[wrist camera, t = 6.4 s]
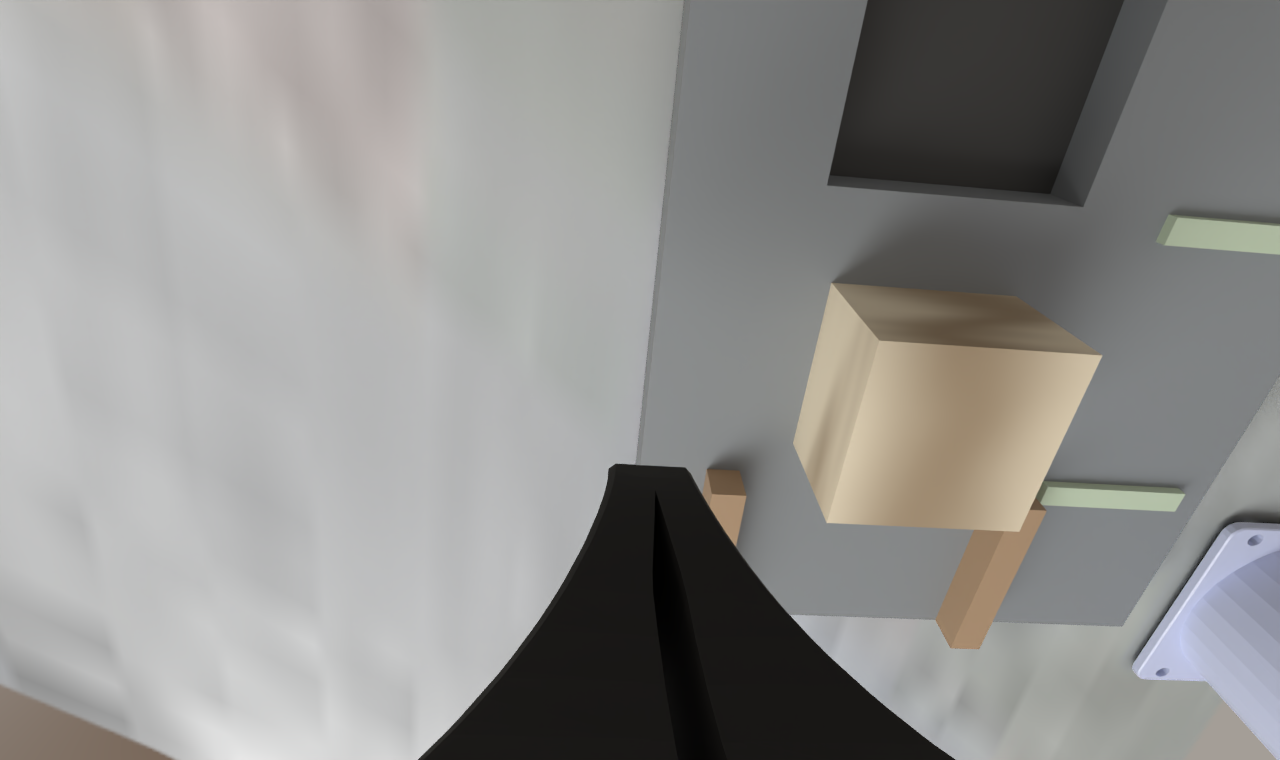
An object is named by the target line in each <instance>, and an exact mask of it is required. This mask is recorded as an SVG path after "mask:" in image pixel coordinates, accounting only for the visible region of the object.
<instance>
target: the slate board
mask: <svg viewBox="0 0 1280 760" xmlns="http://www.w3.org/2000/svg"><path fill="white" fill-rule="evenodd" d="M831 283H842V284H856V285H869V286H883V287H897V288H911V289H924V290H938V291H952V292H966V293H979V294H993V295H1007V296H1017V297H1018V298H1019V299H1021V300H1022V301H1024V302H1025V303H1027V304H1028V305H1030V306H1031V307H1033V308H1034V309H1035V310H1037V311H1038V312H1040V313H1041V314H1043V315H1044V316H1046V317H1047V318H1049V319H1050V320H1052V321H1053V322H1054V323H1056V324H1057V325H1059V326H1060V327H1062V328H1063V329H1065V330H1066V331H1068V332H1069V333H1070V334H1072V335H1073V336H1075V337H1076V338H1078V339H1079V340H1081V341H1082V342H1084V343H1085V344H1087V345H1088V346H1089V347H1091V348H1092V349H1094V350H1095V351H1097V352H1098V353H1100V354H1101V355H1103V356H1102V358H1101V360H1100V362H1099V364H1098V366H1097V368H1096V370H1095V373H1094V375H1093V377H1092V379H1091V381H1090V383H1089V385H1088V387H1087V389H1086V392H1085V394H1084V396H1083V398H1082V400H1081V402H1080V404H1079V406H1078V408H1077V411H1076V413H1075V415H1074V417H1073V419H1072V421H1071V423H1070V425H1069V427H1068V430H1067V432H1066V434H1065V436H1064V438H1063V440H1062V442H1061V444H1060V446H1059V449H1058V451H1057V453H1056V455H1055V457H1054V459H1053V461H1052V463H1051V466H1050V468H1049V470H1048V472H1047V474H1046V476H1045V478H1044V480H1043V482H1042V485H1041V487H1040V489H1039V491H1038V493H1037V495H1036V497H1035V499H1034V501H1033V504H1032V506H1031V508H1030V510H1029V512H1028V514H1027V516H1026V518H1025V520H1024V523H1023V525H1022V527H1021V529H1020V531H1019V532H1013V531H991V530H970V529H948V528H926V527H904V526H882V525H861V524H839V523H826V520H825V518H824V515H823V513H822V511H821V508H820V506H819V504H818V501H817V499H816V497H815V494H814V492H813V489H812V487H811V485H810V482H809V480H808V478H807V475H806V473H805V471H804V468H803V466H802V463H801V461H800V459H799V456H798V454H797V452H796V449H795V447H794V444H793V441H794V437H795V433H796V429H797V424H798V420H799V416H800V412H801V408H802V403H803V399H804V395H805V391H806V387H807V382H808V378H809V374H810V370H811V366H812V362H813V357H814V353H815V349H816V345H817V341H818V336H819V332H820V328H821V324H822V320H823V316H824V311H825V307H826V303H827V299H828V295H829V290H830V286H831ZM1279 376H1280V0H684V7H683V17H682V26H681V36H680V46H679V55H678V65H677V74H676V84H675V93H674V103H673V113H672V122H671V132H670V141H669V151H668V161H667V170H666V180H665V189H664V199H663V208H662V218H661V228H660V237H659V247H658V256H657V266H656V276H655V285H654V295H653V304H652V314H651V323H650V333H649V343H648V352H647V362H646V371H645V381H644V390H643V400H642V410H641V419H640V429H639V438H638V448H637V458H636V465H649V466H669V467H686V469H687V470H688V471H689V472H690V473H691V475H692V477H693V479H694V481H695V482H696V484H697V486H698V488H699V490H700V492H701V493H702V495H703V497H704V498H705V500H706V502H707V504H708V505H709V507H710V508H711V510H712V512H713V513H714V515H715V517H716V518H717V520H718V521H719V523H720V524H721V526H722V527H723V529H724V530H725V532H726V533H727V535H728V536H729V538H730V539H731V541H732V542H733V543H734V545H735V546H736V548H737V549H738V551H739V552H740V554H741V555H742V556H743V558H744V559H745V561H746V562H747V563H748V565H749V566H750V567H751V569H752V570H753V571H754V573H755V574H756V575H757V576H758V578H759V579H760V580H761V581H762V583H763V584H764V585H765V587H766V588H767V589H768V590H769V592H770V593H771V594H772V595H773V596H774V598H775V599H776V600H777V601H778V602H779V604H780V605H781V606H782V607H783V608H784V609H785V610H786V612H787V613H788V614H790V615H818V616H845V617H873V618H901V619H929V620H936V622H937V624H938V626H939V627H940V629H941V631H942V633H943V635H944V637H945V639H946V641H947V642H948V644H949V646H950V648H960V649H979V648H980V646H981V644H982V642H983V640H984V638H985V636H986V634H987V632H988V630H989V628H990V626H991V624H992V622H1012V623H1040V624H1068V625H1096V626H1123V624H1124V623H1125V621H1126V620H1127V618H1128V616H1129V615H1130V613H1131V612H1132V610H1133V608H1134V607H1135V605H1136V604H1137V602H1138V600H1139V599H1140V597H1141V596H1142V594H1143V592H1144V591H1145V589H1146V588H1147V586H1148V585H1149V583H1150V581H1151V580H1152V578H1153V577H1154V575H1155V573H1156V572H1157V570H1158V569H1159V567H1160V565H1161V564H1162V562H1163V561H1164V559H1165V557H1166V556H1167V554H1168V553H1169V551H1170V549H1171V548H1172V546H1173V545H1174V543H1175V542H1176V540H1177V538H1178V537H1179V535H1180V534H1181V532H1182V530H1183V529H1184V527H1185V526H1186V524H1187V522H1188V521H1189V519H1190V518H1191V516H1192V514H1193V513H1194V511H1195V510H1196V508H1197V506H1198V505H1199V503H1200V502H1201V500H1202V499H1203V497H1204V495H1205V494H1206V492H1207V491H1208V489H1209V487H1210V486H1211V484H1212V483H1213V481H1214V479H1215V478H1216V476H1217V475H1218V473H1219V471H1220V470H1221V468H1222V467H1223V465H1224V463H1225V462H1226V460H1227V459H1228V457H1229V455H1230V454H1231V452H1232V451H1233V449H1234V448H1235V446H1236V444H1237V443H1238V441H1239V440H1240V438H1241V436H1242V435H1243V433H1244V432H1245V430H1246V428H1247V427H1248V425H1249V424H1250V422H1251V420H1252V419H1253V417H1254V416H1255V414H1256V412H1257V411H1258V409H1259V408H1260V406H1261V405H1262V403H1263V401H1264V400H1265V398H1266V397H1267V395H1268V393H1269V392H1270V390H1271V389H1272V387H1273V385H1274V384H1275V382H1276V381H1277V379H1278V377H1279Z"/></svg>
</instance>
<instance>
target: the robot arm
mask: <svg viewBox="0 0 1280 760" xmlns="http://www.w3.org/2000/svg"><path fill="white" fill-rule="evenodd" d="M1132 669H1133V671H1134V672H1135V673H1136V675H1137V676H1138V677H1139V678H1142V679H1152V680H1186V681H1207V682H1208V683H1209V684H1210V685H1211V687H1212V688H1213V689H1214V690H1215V691H1216V692H1217V693H1218V694H1219V695H1220V697H1221V698H1222V699H1223V700H1224V701H1225V702H1226V703H1227V704H1228V706H1229V707H1230V708H1231V709H1232V710H1233V711H1234V712H1235V713H1236V714H1237V715H1238V717H1240V719H1241V720H1242V721H1243V722H1244V723H1245V724H1246V726H1247V727H1248V728H1249V729H1250V730H1251V731H1252V732H1253V733H1254V735H1256V737H1257V738H1258V739H1259V740H1260V741H1261V742H1262V743H1263V745H1264V746H1265V747H1266V748H1267V749H1268V750H1269V751H1270V752H1271V753H1272V755H1273V756H1274V757H1275V758H1276V759H1277V760H1280V524H1272V523H1251V522H1236V523H1232V524H1230V525H1228V526H1226V527H1225V528H1224V529H1223V530H1222V531H1221V532H1220V534H1219V535H1218V537H1217V538H1216V540H1215V541H1214V543H1213V544H1212V546H1211V547H1210V549H1209V550H1208V552H1207V553H1206V555H1205V556H1204V558H1203V559H1202V561H1201V562H1200V564H1199V565H1198V567H1197V568H1196V570H1195V571H1194V573H1193V574H1192V576H1191V577H1190V579H1189V580H1188V582H1187V583H1186V585H1185V586H1184V588H1183V589H1182V591H1181V592H1180V594H1179V595H1178V597H1177V598H1176V600H1175V601H1174V603H1173V604H1172V606H1171V607H1170V609H1169V611H1168V612H1167V614H1166V615H1165V617H1164V618H1163V620H1162V621H1161V623H1160V624H1159V626H1158V627H1157V629H1156V630H1155V632H1154V633H1153V635H1152V636H1151V638H1150V639H1149V641H1148V642H1147V644H1146V645H1145V647H1144V648H1143V650H1142V651H1141V653H1140V654H1139V656H1138V657H1137V659H1136V660H1135V662H1134V663H1133V666H1132ZM418 760H955V759H954V758H952V757H951V756H949V755H948V754H947V753H945V752H944V751H942V750H941V749H939V748H938V747H937V746H935V745H934V744H932V743H931V742H930V741H928V740H927V739H926V738H924V737H923V736H922V735H921V734H919V733H918V732H917V731H916V730H914V729H913V728H912V727H911V726H909V725H908V724H907V723H906V722H904V721H903V720H902V719H900V718H899V717H898V716H897V715H895V714H894V713H893V712H892V711H890V710H889V709H888V708H887V707H885V706H884V705H883V704H882V703H881V702H880V701H878V700H877V699H876V698H875V697H874V696H872V695H871V694H870V693H869V692H868V691H867V690H866V689H865V688H863V687H862V686H861V685H860V684H859V683H858V682H857V681H856V680H855V679H853V678H852V677H851V676H850V675H849V674H848V673H847V672H846V671H845V670H844V669H842V668H841V667H840V666H839V665H838V664H837V663H836V662H835V661H834V660H833V659H831V658H830V657H829V656H828V655H827V654H826V653H825V652H824V651H823V650H822V649H821V648H820V647H819V646H818V645H817V644H816V643H815V642H814V641H813V640H812V639H811V638H810V637H809V636H808V635H807V634H806V632H805V631H804V630H803V629H802V628H801V627H800V626H799V625H798V624H797V623H796V622H795V621H794V619H793V618H792V617H791V616H790V615H789V614H788V613H787V612H786V610H785V609H784V608H783V607H782V606H781V605H780V604H779V602H778V601H777V600H776V599H775V598H774V596H773V595H772V594H771V593H770V592H769V590H768V589H767V588H766V587H765V585H764V584H763V583H762V581H761V580H760V579H759V578H758V576H757V575H756V574H755V573H754V571H753V570H752V569H751V567H750V566H749V565H748V563H747V562H746V561H745V559H744V558H743V556H742V555H741V554H740V552H739V551H738V549H737V548H736V546H735V545H734V543H733V542H732V541H731V539H730V538H729V536H728V535H727V533H726V532H725V530H724V529H723V527H722V526H721V524H720V523H719V521H718V520H717V518H716V517H715V515H714V513H713V512H712V510H711V508H710V507H709V505H708V504H707V502H706V500H705V498H704V497H703V495H702V493H701V492H700V490H699V488H698V486H697V484H696V482H695V481H694V479H693V477H692V475H691V473H690V472H689V471H688V470H687V469H686V467H669V466H649V465H630V464H615V465H613V466H612V467H611V468H609V471H608V481H607V486H606V490H605V493H604V496H603V500H602V502H601V505H600V508H599V511H598V513H597V516H596V518H595V520H594V523H593V525H592V527H591V529H590V532H589V534H588V536H587V539H586V541H585V543H584V545H583V547H582V549H581V551H580V553H579V555H578V556H577V558H576V560H575V562H574V564H573V566H572V567H571V569H570V571H569V573H568V575H567V577H566V578H565V580H564V582H563V584H562V585H561V587H560V589H559V590H558V592H557V594H556V595H555V597H554V598H553V600H552V601H551V603H550V605H549V606H548V608H547V609H546V611H545V612H544V614H543V615H542V617H541V618H540V620H539V621H538V623H537V624H536V625H535V627H534V628H533V630H532V631H531V632H530V634H529V635H528V636H527V638H526V639H525V640H524V642H523V643H522V644H521V646H520V647H519V648H518V650H517V651H516V652H515V654H514V655H513V656H512V658H511V659H510V660H509V661H508V663H507V664H506V665H505V666H504V668H503V669H502V670H501V671H500V673H499V674H498V675H497V676H496V677H495V679H494V680H493V681H492V682H491V683H490V684H489V685H488V686H487V688H486V689H485V690H484V691H483V692H482V693H481V694H480V695H479V697H478V698H477V699H476V700H475V701H474V702H473V703H472V705H471V706H470V707H469V708H468V709H467V710H466V711H465V712H464V714H463V715H462V716H461V717H460V718H459V719H458V720H457V721H456V722H455V723H454V724H453V725H452V727H451V728H450V729H449V730H448V731H447V732H446V733H445V734H444V735H443V736H442V737H441V738H440V739H439V740H438V741H437V742H436V743H435V744H434V745H433V746H432V747H430V748H429V749H428V750H427V751H426V752H425V753H424V754H423V755H422V756H421V757H420V758H419V759H418Z"/></svg>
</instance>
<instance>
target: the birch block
mask: <svg viewBox="0 0 1280 760" xmlns="http://www.w3.org/2000/svg"><path fill="white" fill-rule="evenodd" d="M1102 356H1103V355H1101V354H1100V353H1098V352H1097V351H1095V350H1094V349H1092V348H1091V347H1089V346H1088V345H1087V344H1085V343H1084V342H1082V341H1081V340H1079V339H1078V338H1076V337H1075V336H1073V335H1072V334H1070V333H1069V332H1068V331H1066V330H1065V329H1063V328H1062V327H1060V326H1059V325H1057V324H1056V323H1054V322H1053V321H1052V320H1050V319H1049V318H1047V317H1046V316H1044V315H1043V314H1041V313H1040V312H1038V311H1037V310H1035V309H1034V308H1033V307H1031V306H1030V305H1028V304H1027V303H1025V302H1024V301H1022V300H1021V299H1019V298H1018V297H1017V296H1007V295H993V294H979V293H966V292H952V291H938V290H924V289H911V288H897V287H883V286H869V285H856V284H842V283H831V286H830V290H829V295H828V299H827V303H826V307H825V311H824V316H823V320H822V324H821V328H820V332H819V336H818V341H817V345H816V349H815V353H814V357H813V362H812V366H811V370H810V374H809V378H808V382H807V387H806V391H805V395H804V399H803V403H802V408H801V412H800V416H799V420H798V424H797V429H796V433H795V437H794V441H793V444H794V447H795V449H796V452H797V454H798V456H799V459H800V461H801V463H802V466H803V468H804V471H805V473H806V475H807V478H808V480H809V482H810V485H811V487H812V489H813V492H814V494H815V497H816V499H817V501H818V504H819V506H820V508H821V511H822V513H823V515H824V518H825V520H826V523H839V524H861V525H882V526H904V527H926V528H948V529H970V530H991V531H1013V532H1019V531H1020V529H1021V527H1022V525H1023V523H1024V520H1025V518H1026V516H1027V514H1028V512H1029V510H1030V508H1031V506H1032V504H1033V501H1034V499H1035V497H1036V495H1037V493H1038V491H1039V489H1040V487H1041V485H1042V482H1043V480H1044V478H1045V476H1046V474H1047V472H1048V470H1049V468H1050V466H1051V463H1052V461H1053V459H1054V457H1055V455H1056V453H1057V451H1058V449H1059V446H1060V444H1061V442H1062V440H1063V438H1064V436H1065V434H1066V432H1067V430H1068V427H1069V425H1070V423H1071V421H1072V419H1073V417H1074V415H1075V413H1076V411H1077V408H1078V406H1079V404H1080V402H1081V400H1082V398H1083V396H1084V394H1085V392H1086V389H1087V387H1088V385H1089V383H1090V381H1091V379H1092V377H1093V375H1094V373H1095V370H1096V368H1097V366H1098V364H1099V362H1100V360H1101V358H1102Z"/></svg>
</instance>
